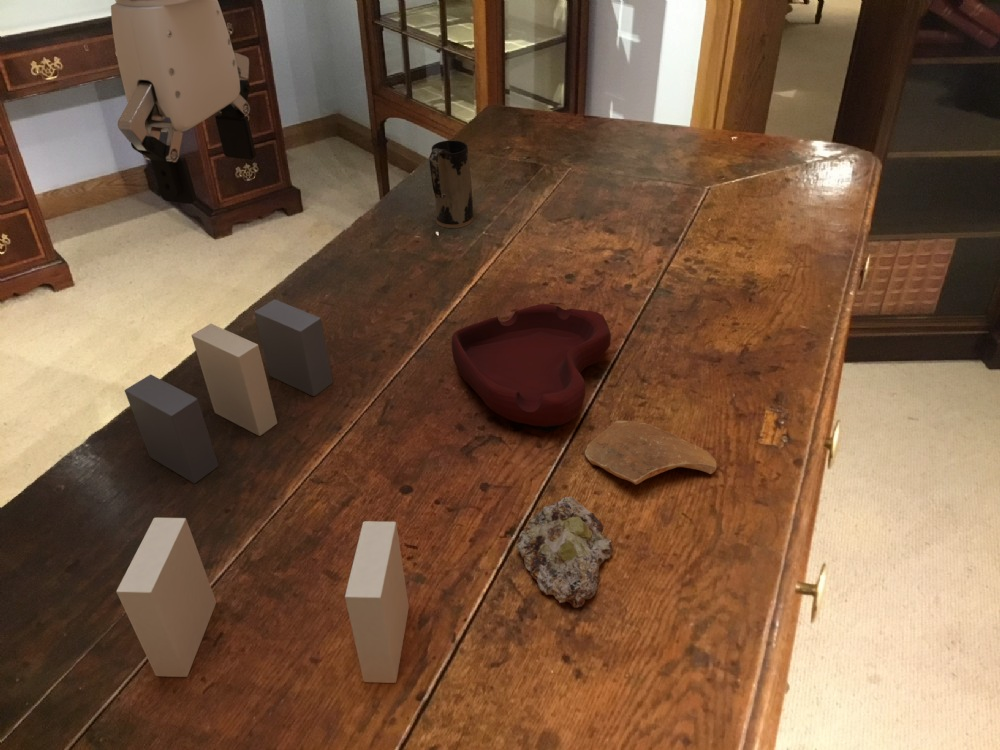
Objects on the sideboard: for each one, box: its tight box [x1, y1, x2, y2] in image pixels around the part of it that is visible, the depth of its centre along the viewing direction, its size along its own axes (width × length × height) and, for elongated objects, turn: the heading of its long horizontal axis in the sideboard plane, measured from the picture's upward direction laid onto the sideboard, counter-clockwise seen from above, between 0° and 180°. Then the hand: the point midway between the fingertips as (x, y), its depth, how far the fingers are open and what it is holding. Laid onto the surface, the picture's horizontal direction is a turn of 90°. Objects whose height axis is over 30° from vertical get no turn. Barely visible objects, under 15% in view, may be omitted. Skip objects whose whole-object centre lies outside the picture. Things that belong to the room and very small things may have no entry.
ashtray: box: [451, 303, 612, 433], centre depth 91 cm, size 18×16×5 cm
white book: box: [191, 323, 278, 437], centre depth 86 cm, size 7×2×10 cm, turn 55°
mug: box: [428, 139, 474, 229], centre depth 120 cm, size 8×6×12 cm
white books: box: [115, 517, 410, 684], centre depth 64 cm, size 18×7×10 cm, turn 87°
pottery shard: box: [584, 420, 717, 485], centre depth 81 cm, size 10×9×2 cm
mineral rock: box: [515, 496, 614, 609], centre depth 72 cm, size 11×4×8 cm
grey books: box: [124, 298, 334, 484], centre depth 87 cm, size 7×19×8 cm, turn 145°
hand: (211, 178), depth 78 cm, fingers open, 9 cm apart
